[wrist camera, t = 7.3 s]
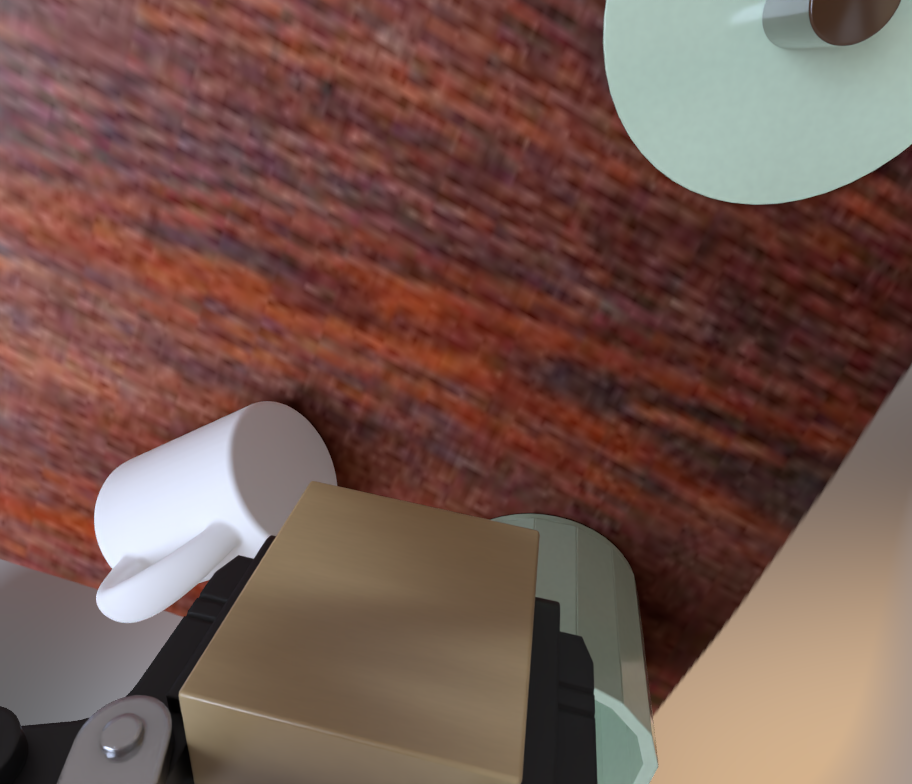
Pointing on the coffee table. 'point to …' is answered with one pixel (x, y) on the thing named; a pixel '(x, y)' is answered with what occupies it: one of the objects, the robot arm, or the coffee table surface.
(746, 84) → the lid
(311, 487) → the block
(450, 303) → the coffee table surface
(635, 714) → the jar
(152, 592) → the mug
